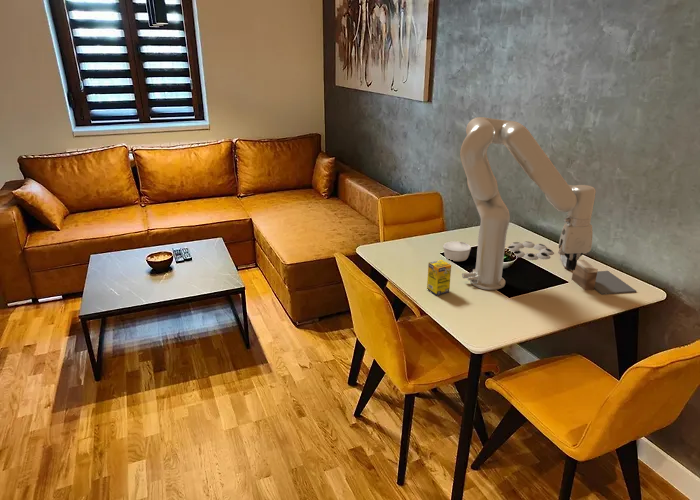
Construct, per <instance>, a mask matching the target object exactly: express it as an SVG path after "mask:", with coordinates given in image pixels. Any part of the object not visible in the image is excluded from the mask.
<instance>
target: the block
mask: <svg viewBox="0 0 700 500" xmlns="http://www.w3.org/2000/svg"><path fill="white" fill-rule="evenodd" d="M597 271H599V270H598V268H596V267H595V266H594V265H592V264H591V263H589V262H588V261H587V260H585V259H579V260H577V264H576V267H575V270H572V275H571V281H573V282H574V283H575V284H577V285H578V286H579V287H580V289H583V290H584V291H593V290H595V289H594V287H595V281H596V276H597Z"/></svg>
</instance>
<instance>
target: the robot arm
mask: <svg viewBox="0 0 700 500" xmlns="http://www.w3.org/2000/svg"><path fill="white" fill-rule="evenodd" d="M465 131H466V136H465V137H464V139H463V141H462V144H461V146H460V152H459V153H460V156H459V157H460V161H461V164H462V165H461V166H462V168H463V170H464V173H465V176H466V178H467V181H466V184H467V187H468V190H469V192H470V194H471V198H472V200H473V203H474V205H475V208H476V210H477V212H478V215H479V218H480V225H479V229H478V238H477V249H476V262H475V268H473V269H472V271H470V272H464V273H463V272H462V274H461V277H462V279H467V281H469V282H470V284H471V285H472V286H474V287H476V288H478V289H482V290H487V291H488V290H489V291H496V290H499V289H502V288H504V287H505V285H506V280H505V279H504V278H503V277H502V276H503V267H504V266H503V265H504V257H505V251H506V240H507V235H508V234H507V233H508V229H509V225H510V217H511V216H510V214H511V213H510V212H509V209H508V207H507V204H506V203H505V202H504V201H503V199H502V196H501V193H500V191H499V187H498V185H499V184H498V181H497V179H496V176H495V175H494V172H493V170H492V167H491V165H490V160H489V159H488V154H487V152H488V148H489V146H490V145H491V144H493V145H502V146H503V145H504V146H505V148H506V149H507V150H508V152H510V154H511V155H512V157H513V158H514V159H515V161H516V162H517V163H518V164H519V166H520V167H521V169H522V170H523V171H524V173H525V174H526V175H527V177H528V178H529V179H530V180H531V181H532V182H534V183H535V184H536V185H537V187H538V188H539V189H540V190H541V192H542V193H543V194H544V195H545V199H546V201H547V202H548V203H549V204H550V205H552V207H553V208H554V209H555V210H556V211H557V212H560V213H567V215H566V218H563V222H564V225H563V227H562V229H561V233H560V236H559V242H558V249H559V250H558V255H559V256H560V255H564V256H566V257H567V262H566V267H567V268H568V270H570V271H573V270H575V267H576V264H577V260H580V258H581V257H582V256H583V255H585V254H588V253H589V252H591V250H592V245H593V234H594V233H593V225H592V224H591V220H592V215H593V211H594V209H593V208H594V204H595V199H596V198H595V197H596V188H595V187H593V186H592V185H587V184H577V185H573V184H568V183H567V181H566V180H565V178H564V177H563V176H562V174H561V173H560V172H559V170H558V169H557V167H555V165H554V164H553V162H552V161H551V160H550V158H549V156H548V155H547V154H546V152H545V151H544V150H543V149H542V147H541V145H539V143H538V142H537V139H535V138H534V136H533V135H532V133H531V132H530V131H529V130H528V128H526V126H524V125H523V124H522V123H520V122H518V121H516V120H515V121H514V120H507V119H497V118H492V117H491V118H489V117H485V116H484V117H483V116H478V117H474V118H472V119H470V120H469V122H468V123H467V125H466V128H465Z"/></svg>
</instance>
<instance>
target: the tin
mask: <svg viewBox="0 0 700 500" xmlns="http://www.w3.org/2000/svg"><path fill="white" fill-rule="evenodd" d="M559 257H560V259H559V260H560V261H561V263H562V265H563V267H564V269H568V268H567V267H566V262H567V257H566V256H564V255H560V254H559ZM568 270H569V269H568Z"/></svg>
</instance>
